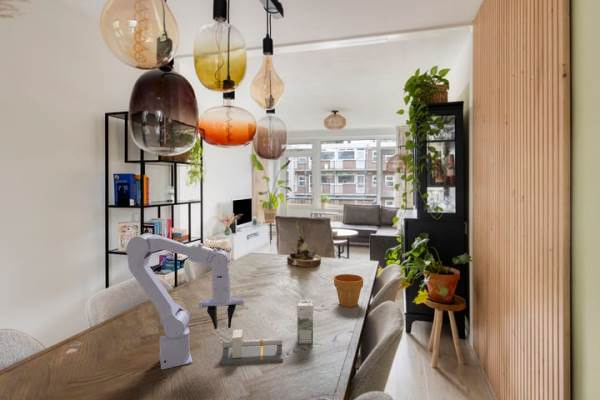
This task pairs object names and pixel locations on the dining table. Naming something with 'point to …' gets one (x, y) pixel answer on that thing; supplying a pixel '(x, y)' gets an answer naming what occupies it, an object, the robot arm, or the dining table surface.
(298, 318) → the syrup box
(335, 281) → the flower pot
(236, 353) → the collar
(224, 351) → the pipe stand
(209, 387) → the dining table surface
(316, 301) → the dining table surface
